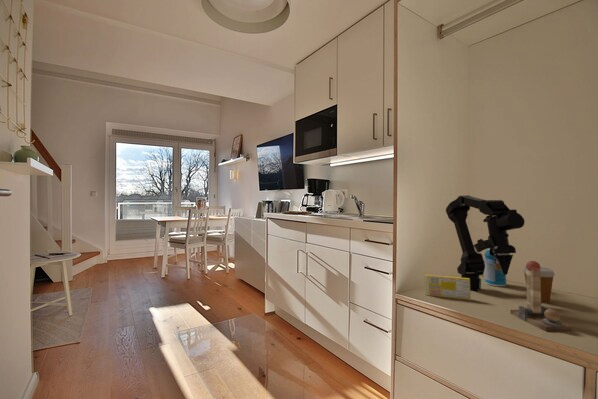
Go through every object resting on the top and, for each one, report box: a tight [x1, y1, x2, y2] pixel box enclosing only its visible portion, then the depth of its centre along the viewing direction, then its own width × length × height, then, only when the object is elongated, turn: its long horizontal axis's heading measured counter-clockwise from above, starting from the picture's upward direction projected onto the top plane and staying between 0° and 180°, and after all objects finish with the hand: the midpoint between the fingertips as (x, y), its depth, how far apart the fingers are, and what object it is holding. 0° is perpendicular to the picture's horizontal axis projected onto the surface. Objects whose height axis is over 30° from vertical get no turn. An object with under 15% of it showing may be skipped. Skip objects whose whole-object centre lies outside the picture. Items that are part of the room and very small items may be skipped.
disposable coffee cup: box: [522, 266, 556, 304], centre depth 111 cm, size 10×10×12 cm
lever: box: [525, 260, 544, 315], centre depth 93 cm, size 4×4×17 cm
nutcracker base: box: [510, 305, 572, 332], centre depth 91 cm, size 14×8×6 cm, turn 1°
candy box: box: [424, 274, 472, 301], centre depth 115 cm, size 16×2×8 cm, turn 65°
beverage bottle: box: [483, 248, 507, 287], centre depth 132 cm, size 8×8×20 cm
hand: (505, 274), depth 105 cm, fingers closed
